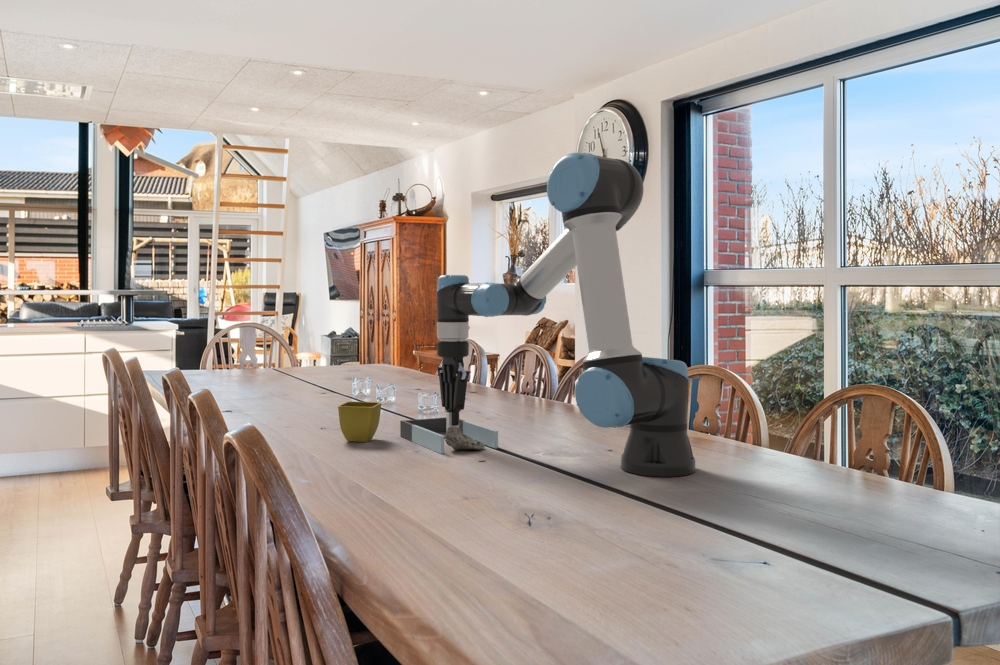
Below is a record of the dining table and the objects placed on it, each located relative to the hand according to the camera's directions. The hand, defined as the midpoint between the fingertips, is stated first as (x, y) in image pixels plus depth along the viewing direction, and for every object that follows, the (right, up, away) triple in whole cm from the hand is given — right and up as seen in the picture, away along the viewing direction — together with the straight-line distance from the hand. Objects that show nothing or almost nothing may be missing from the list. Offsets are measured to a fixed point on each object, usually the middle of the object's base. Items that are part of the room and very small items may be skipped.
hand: (452, 438), depth 197 cm
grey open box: (-6, -1, +10) cm, 11 cm away
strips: (0, -1, -1) cm, 2 cm away
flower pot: (-23, -1, +4) cm, 23 cm away
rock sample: (+3, -2, -5) cm, 7 cm away
